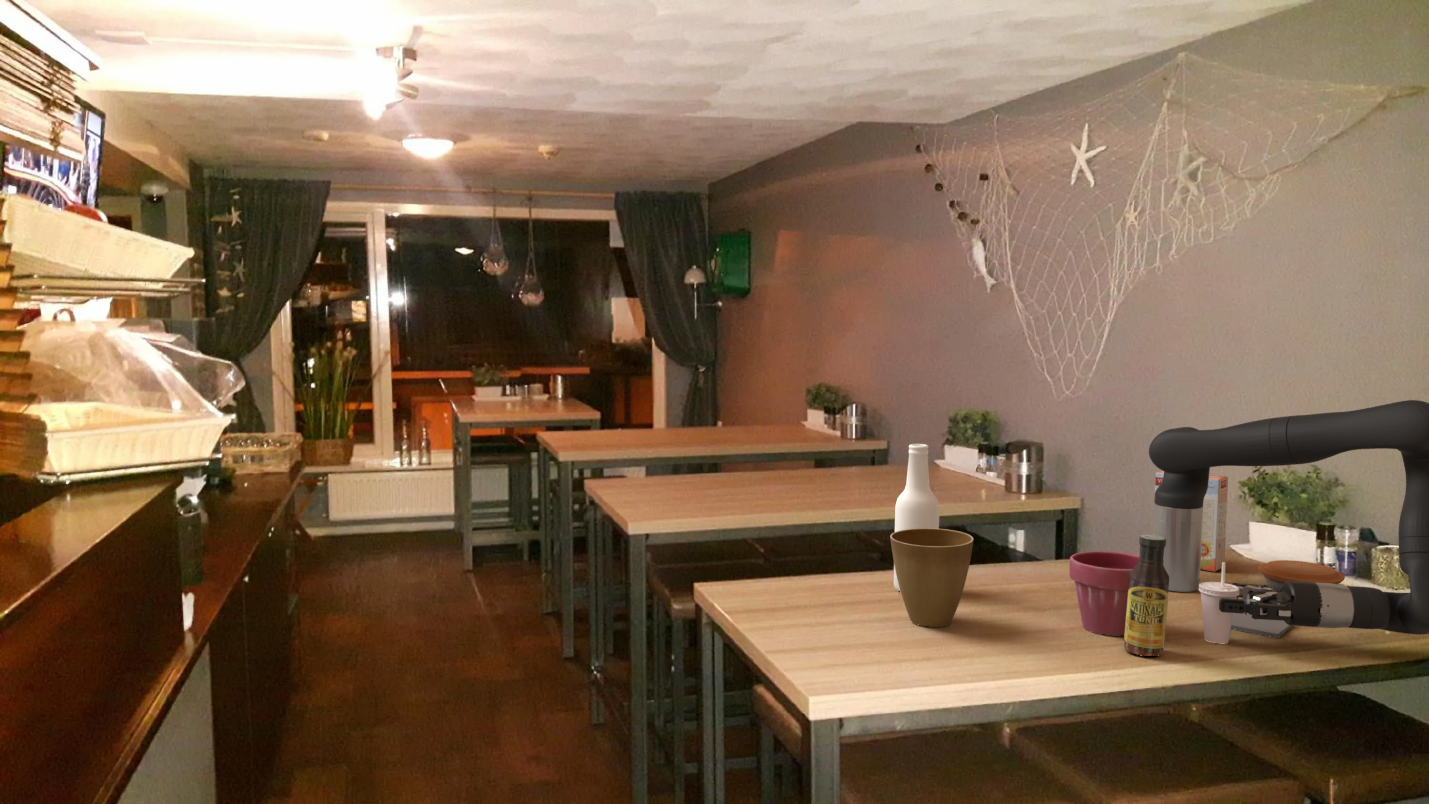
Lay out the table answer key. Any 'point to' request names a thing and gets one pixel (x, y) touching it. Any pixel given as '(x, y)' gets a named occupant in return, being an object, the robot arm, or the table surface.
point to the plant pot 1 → (931, 572)
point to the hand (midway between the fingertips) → (1213, 598)
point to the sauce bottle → (1147, 599)
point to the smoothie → (1217, 608)
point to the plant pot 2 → (1102, 589)
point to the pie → (1298, 573)
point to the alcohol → (916, 497)
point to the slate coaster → (1259, 625)
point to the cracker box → (1211, 522)
